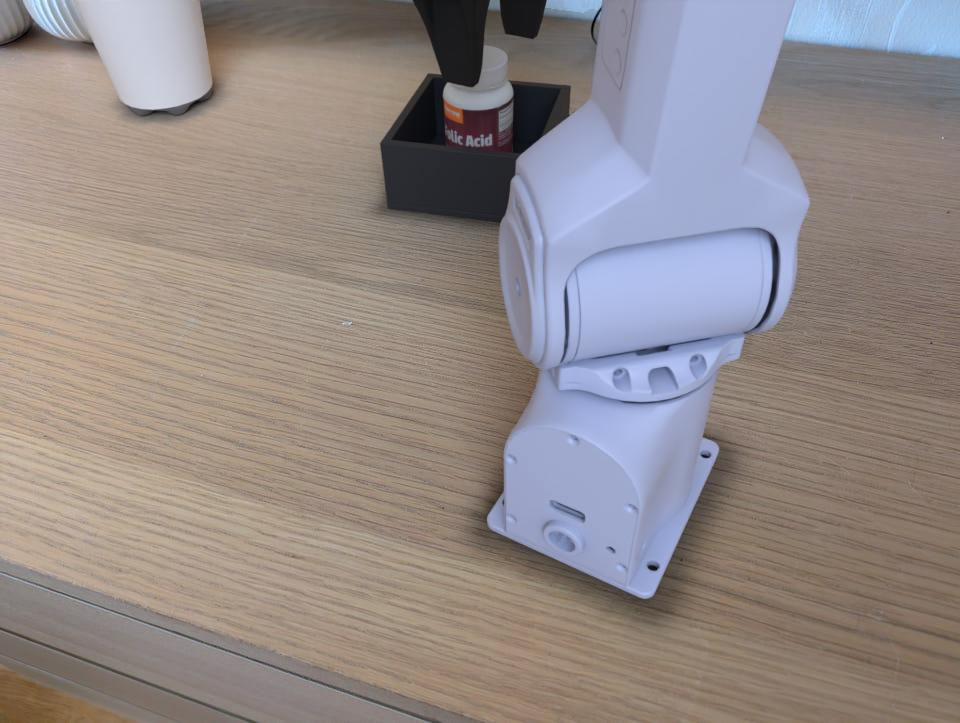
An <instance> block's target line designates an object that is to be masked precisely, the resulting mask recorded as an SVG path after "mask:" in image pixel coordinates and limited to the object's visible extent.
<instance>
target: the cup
mask: <svg viewBox="0 0 960 723" xmlns="http://www.w3.org/2000/svg"><path fill="white" fill-rule="evenodd" d="M200 1H201V0H73V2H74V4H75V6H76V8H77V10H78V12H79V14H80V17H81V19H82V21H83V23H84V25H85V28H86V30H87V32H88V34H89V36H90V38H91V41H92V42H93V45H94V47H95V49H96V51H97V54H98V55H99V57H100V59H101V62H102V65H103V66H104V68H105V71H106V73H107V75H108V78H109V79H110V81H111V83H112V86H113V87H114V90H115V92H116V94H117V96H118V99H119V101H121V102H122V103H123V104H124V105H125V106H126V107H127V108H128V109H129V110H130V111H132V113H134V115H136V116H139V117H143V116H148V115H151V114H152V113H153V112H154V111H163V112H165V111H166V112H167V113H169V114H170V115H174V116H175V115H176V116H180V115H183V114H185V113H186V112H187V111H188V110H189V108H190V106H191V105H192V104H194V103H196V102H198V101H199V102H202V101H206V100H210V98H211V97H212V93H213V75H212V69H211V64H210V57H209V50H208V45H207V39H206V33H205V32H206V30H205V27H204V20H203V12H202V8H201V2H200Z"/></svg>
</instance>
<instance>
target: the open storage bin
mask: <svg viewBox="0 0 960 723" xmlns="http://www.w3.org/2000/svg"><path fill="white" fill-rule="evenodd" d="M507 80H508V81H509V82H510V83H511V85H512V88H513V92H514V96H513V153H511V152H501V151H492V150H482V149H473V148H463V147H454V146H446V140H445V122H444V103H443V91H444V87H445V85H446V84H447V83H448V82H444V80H443V77H442V75H441V73H430V72H428V73H426V75H425V77H424V79H423V80H422V82H421V83H420V84H419V86H418V87H417V89H416V90H415V92H414V93H413V95H411V97H410V99H409V100H408V102H407V104H405V106H404V108H403V109H402V111H401V112H400V114H399V115H398V116H397V117H396V120H395V121H394V122H393V124H392V125H391V127H390V128H389V129H388V131H387V132H386V133H385V135H384V136H383V138H382V139H381V141H380V142H379V147H380V148H379V149H380V155H381V164H382V172H383V179H384V180H383V181H384V188H385V197H386V204H387V205H386V206H387V209H390V210H397V211H405V212H413V213H421V214H429V215H439V216H447V217H454V218H463V219H471V220H477V221H478V220H479V221H487V222H496V223H501V221H502V219H503V217H504V216H505V214H506V211H507V207H508V201H509V195H510V184H511V180H512V178H513V177H514V176H515V170H516V160H517V159H518V157H519V156H520V155H521V154H522V153H523V152H525V151H526V150H527V149H528V148H529V147H531V146H532V145H533V144H534V143H536V142H537V141H538V140H539V139H540V138H542V137H543V136H544V135H545V134H547V133H548V132H549V131H551V130H552V129H553V128H555V127H556V126H557V125H558V124H560V123H561V122H562V121H564V120H565V119H566V118H568V117H569V116H570V111H571V110H570V106H571V89H572V85H568V84H557V83H545V82H535V81H524V80H523V81H522V80H513V79H512V80H511V79H507Z"/></svg>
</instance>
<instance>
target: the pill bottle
mask: <svg viewBox="0 0 960 723" xmlns="http://www.w3.org/2000/svg"><path fill="white" fill-rule="evenodd" d="M508 77H509V56H508V55H507V53H506V51H504V50H503V49H502V48H499V47H496V46H493V45H487V44H484V49H483V63H482V70H481V75H480V79H479V83H478V84H477V85H475V86H474V87H466V86H462V85H457V84H453V83H447V84H446V85H445V87H444V91H443V103H444V122H445V140H446V146H454V147H463V148H473V149H482V150H492V151H501V152H511V153H513V96H514V92H513V88H512V85H511V83H510V82H509V81H508V80H509V78H508Z"/></svg>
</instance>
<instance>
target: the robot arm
mask: <svg viewBox="0 0 960 723" xmlns="http://www.w3.org/2000/svg"><path fill="white" fill-rule="evenodd" d="M411 1H412V2H413V4H414V6H415V7H416V9H417V12H418V14H419V15H420V18H421V20H422V21H423V25H424V28H425V30H426V34H427V35H428V39H429V41H430V44H431V46H432V50H433V53H434V56H435V59H436V62H437V66H438V68H439V71H440V74H441V75H442V77H443V80H444V82H448V83H453V84H457V85H462V86H466V87H474V86H475V85H477V84H478V83H479V79H480V75H481V70H482V63H483V49H484V45H485V32H486V24H487V17H488V12H489V6H490V2H491V0H411ZM547 1H548V0H499V10H500V15H501V16H500V18H501V23H502V27H503V32H504V34H505V35H509V36H515V37H520V38H524V39H529V40H534V39H535V38H537V37H538V35H539V32H540V30H541V27H542V26H541V25H542V22H543V18H544V16H545V15H544V14H545V11H546V6H547ZM796 2H797V0H602V1H601V10H600V17H599V26H598V33H597V41H596V47H595V48H596V49H595V55H594V64H593V65H594V66H593V72H592V81H591V89H590V95H589V98H588V99H587V100H586V101H585V102H584V103H583V104H582V105H581V106H580V107H578V108H577V109H576V110H574V112H573V113H571V114H569V117H568V118H566V119H565V120H564V121H562V122H561V123H560V124H558V125H557V126H556V127H555V128H553V129H552V130H551V131H549V132H548V133H547V134H545V135H544V136H543V137H542V138H540V139H539V140H538V141H537V142H536V143H534V144H533V145H532V146H531V147H529V148H528V149H527V150H526V151H525V152H523V153H522V154H521V155H520V156H519V157H518V159H517V160H516V170H515V176H514V177H513V178H512V180H511V184H510V195H509V201H508V207H507V211H506V214H505V216H504V217H503V219H502V221H501V222H499V223H500V224H499V229H498V237H497V238H498V240H497V243H498V244H497V249H498V252H497V254H498V267H499V268H498V270H499V277H500V285H501V292H502V297H503V303H504V308H505V313H506V317H507V322H508V324H509V328H510V331H511V335H512V337H513V340H514V343H515V346H516V347H517V349H518V351H519V353H520V354H521V355H522V356H523V357H524V358H525V359H526V360H528V361H529V362H530V363H532V365H533V366H534V367H535V368H536V369H538V374H537V380H536V384H535V387H534V389H533V392H532V395H531V397H530V400H529V402H528V404H527V406H526V407H525V409H524V410H523V412H522V414H521V416H520V417H519V419H518V421H517V422H516V423H515V425H514V427H513V428H512V429H511V431H510V433H509V434H508V436H507V439H506V441H505V443H504V448H503V492H502V493H501V494H500V496H499V497H498V499H497V500H496V502H495V503H494V505H493V506H492V508H491V509H490V511H489V512H488V513H487V516H486V523H487V524H486V525H487V527H488V529H489V530H491V531H493V532H494V533H496V534H499V535H501V536H503V537H505V538H507V539H510V540H512V541H514V542H516V543H518V544H521V545H523V546H524V547H528V548H530V549H531V550H534V551H536V552H538V553H539V554H542V555H545V556H546V557H550V558H551V559H553V560H556V561H558V562H561V563H563V564H565V565H567V566H569V567H571V568H573V569H576V570H578V571H580V572H582V573H584V574H587V575H588V576H591V577H593V578H596V579H598V580H599V581H602V582H604V583H607V584H609V585H611V586H613V587H615V588H617V589H619V590H622V591H624V592H626V593H628V594H631V595H633V596H635V597H637V598H639V599H643V600H645V599H646V600H647V599H650V598H652V597H653V596H654V595H655V593H656V592H657V589H658V587H659V586H660V583H661V581H662V579H663V576H664V574H665V572H666V570H667V568H668V566H669V564H670V561H671V559H672V557H673V555H674V553H675V550H676V548H677V546H678V543H679V541H680V540H681V537H682V535H683V532H684V530H685V528H686V526H687V524H688V522H689V520H690V517H691V515H692V513H693V511H694V508H695V506H696V505H697V502H698V500H699V499H700V495H701V493H702V491H703V489H704V487H705V484H706V482H707V481H708V478H709V477H710V474H711V472H712V469H713V467H714V464H715V463H716V460H717V458H718V456H719V453H720V446H719V444H718V443H717V442H716V441H714V440H711V439H709V438H706V437H704V433H705V429H706V426H707V425H706V424H707V420H708V417H709V413H710V408H711V405H712V400H713V396H714V392H715V387H716V383H717V381H718V380H717V379H718V375H719V371H720V368H721V367H722V366H723V365H725V364H727V363H730V362H733V361H738V360H740V358H741V355H742V350H743V346H744V342H745V339H746V335H752V334H761V333H765V332H767V331H769V330H771V329H773V328H774V327H775V326H776V325H778V323H779V322H780V321H781V319H782V317H783V316H784V315H785V312H786V310H787V307H788V305H789V303H790V300H791V299H792V298H791V297H792V295H793V293H794V290H795V285H796V280H797V274H798V261H799V260H798V247H799V240H800V233H801V228H802V226H803V223H804V221H805V218H806V216H807V213H808V211H809V208H810V207H811V198H810V196H809V194H808V191H807V188H806V185H805V183H804V180H803V177H802V174H801V172H800V169H799V168H798V166H797V164H796V162H795V160H794V159H793V158H792V155H791V154H790V152H789V150H788V149H787V147H785V145H784V144H783V143H782V141H781V140H779V138H778V137H777V136H776V135H775V134H774V133H773V132H772V131H770V130H769V129H768V128H767V127H766V126H764V125H763V124H762V123H760V122H759V118H760V115H761V111H762V108H763V105H764V102H765V99H766V96H767V93H768V90H769V86H770V83H771V80H772V77H773V73H774V71H775V68H776V65H777V61H778V58H779V55H780V52H781V49H782V45H783V43H784V39H785V36H786V33H787V30H788V27H789V23H790V21H791V17H792V14H793V12H794V9H795V5H796ZM704 456H706V457H704ZM650 566H654V567H655V568H656V569H657V570H652V569H650V568H649V567H650Z"/></svg>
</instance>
